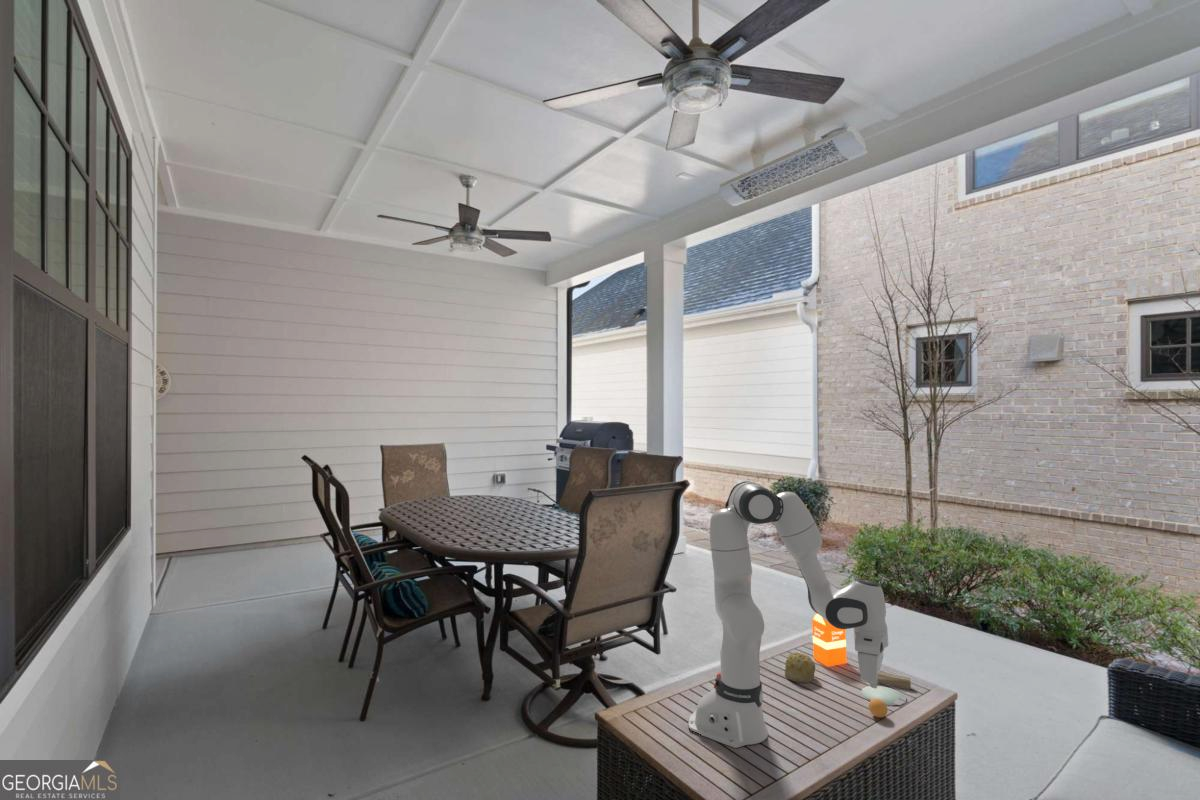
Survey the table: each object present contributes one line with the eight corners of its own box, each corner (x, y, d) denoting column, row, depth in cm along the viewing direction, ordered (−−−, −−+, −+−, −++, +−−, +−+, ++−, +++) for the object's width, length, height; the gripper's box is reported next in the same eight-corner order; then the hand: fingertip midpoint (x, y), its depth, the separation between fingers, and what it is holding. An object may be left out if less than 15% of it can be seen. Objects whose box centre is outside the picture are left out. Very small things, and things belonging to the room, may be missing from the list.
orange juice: (813, 658, 203) (811, 604, 204) (832, 655, 206) (830, 602, 207) (827, 666, 196) (825, 611, 197) (847, 663, 198) (844, 608, 200)
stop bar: (910, 689, 177) (910, 680, 178) (863, 679, 185) (863, 670, 185) (910, 687, 179) (910, 678, 179) (864, 677, 187) (864, 668, 187)
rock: (800, 680, 193) (785, 652, 197) (825, 672, 186) (809, 644, 190) (788, 692, 186) (772, 663, 190) (814, 684, 180) (798, 655, 183)
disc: (860, 700, 171) (860, 699, 171) (862, 683, 182) (862, 682, 183) (907, 709, 165) (907, 708, 165) (906, 691, 176) (906, 690, 176)
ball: (868, 718, 160) (868, 701, 161) (869, 710, 165) (868, 694, 165) (887, 722, 158) (886, 705, 158) (887, 714, 162) (887, 697, 163)
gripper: (863, 623, 165) (867, 669, 164) (853, 647, 148) (857, 698, 147) (886, 626, 162) (890, 673, 161) (879, 651, 145) (882, 704, 144)
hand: (874, 685), depth 154 cm, fingers closed
